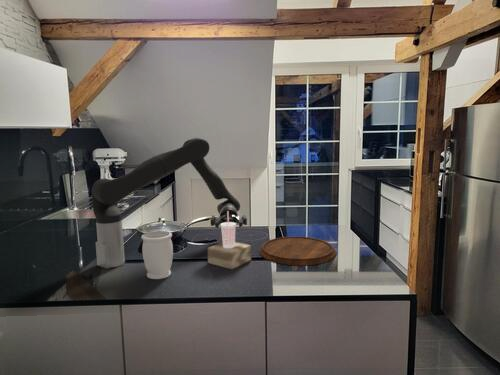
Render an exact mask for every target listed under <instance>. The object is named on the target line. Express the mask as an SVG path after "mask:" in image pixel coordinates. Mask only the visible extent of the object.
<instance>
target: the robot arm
mask: <svg viewBox="0 0 500 375" xmlns="http://www.w3.org/2000/svg"><path fill="white" fill-rule="evenodd" d="M209 152H210V143H209V142H208V141H207V140H206V139H204V138H202V137H194V138H190V139H187V140H186V141H184V143H183V145H182V146H181V147H179V148H176V149H172V150H169V151H166V152H163V153H160V154H158V155H154V156H152V157H150V158H148V159H146V160H144V161H142V162H141V163H140V164H138V165H137V166H135V167H134V169H133V170H132V171H129V172H128V173H126V174H124V175H121V176H119V177H116V178H112V179H109V178H99V179H98V180H96V181H95V182H94V183H93V185H92V188H91V201H92V209H93V214H94V217H95V221H96V222H95V223H96V224H95V225H96V236H97V241H95V251H96V252H95V253H96V264H97V266H98V267H101V268H103V269H105V270H106V269H110V268H111V269H112V268H117V267H121V266H122V265H124V264H125V263H126V260H125V259H126V257H125V245H124V232H123V229H124V228H123V218H122V215H123V214H122V211H120V209H119V205H118V203H119V202H120V201H122V200H123V199H125V198H127V197H128V196H130V195H131V194H132V193H134V192H136V191H138V190H139V189H142V188H145V187H147V186H149V185H151V184H153V183H155V182H158V181H159V180H161V179H163V178H165V177H167V176H169V175H170V174H172V173H174V172H176V171H177V170H179V169H180V168H182V167H184V166H185V165H187V164H191V165H192V166H193V168H194V169H195V171H197V173H198V174H199V175H200V177H201V179H202V180H203V182H204V183H205V184H206V186H207V188H208V189H209V192H210V193H211V194H212V196H213V198H214V199H215V200H216V201H217V200H218V201H219V200H223V199H226V200H225V201H223V202H221V203H218V205H217V207H216V209H217V210H216V211H217V213H218V214H219V217H218V218H217V217H215V215H213V216H211V218H210V226H211V227H215V228H216V229H219V227H221V225H220V224H221V223H224V222H228V219H227V211H229V222H234V223H236V227H237V226H238V227H239V228H242V227H243V226H244V225H245V226H246V225H248V218H247V216H246V215H242V216H239V214H238V211H240V209H241V204H240V202H239V201H238V199H237V198H236V197H234V196H233V194H231V192H230V191H229V190H228V188H227V187H226V185H225V183H224V181H223V180H222V178H221V177H220V175H218V173H217V172H216V171H214V169H213V168H212V167H211V166H210V165H209V164H208V163H207V161H206V159H205V157H206V156H207V155H208V154H209Z"/></svg>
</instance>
